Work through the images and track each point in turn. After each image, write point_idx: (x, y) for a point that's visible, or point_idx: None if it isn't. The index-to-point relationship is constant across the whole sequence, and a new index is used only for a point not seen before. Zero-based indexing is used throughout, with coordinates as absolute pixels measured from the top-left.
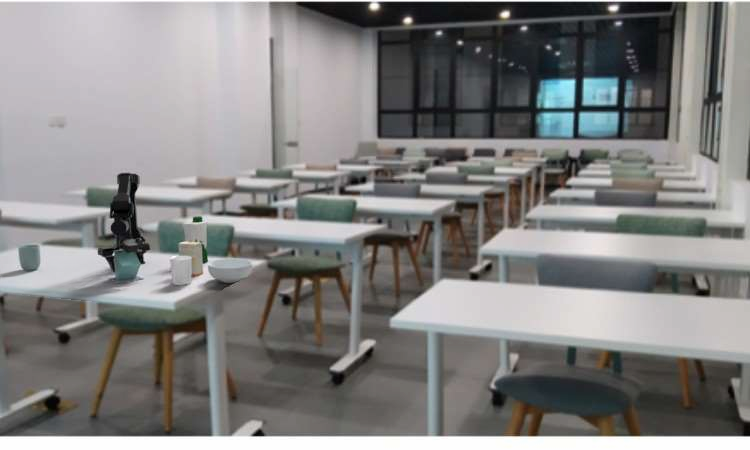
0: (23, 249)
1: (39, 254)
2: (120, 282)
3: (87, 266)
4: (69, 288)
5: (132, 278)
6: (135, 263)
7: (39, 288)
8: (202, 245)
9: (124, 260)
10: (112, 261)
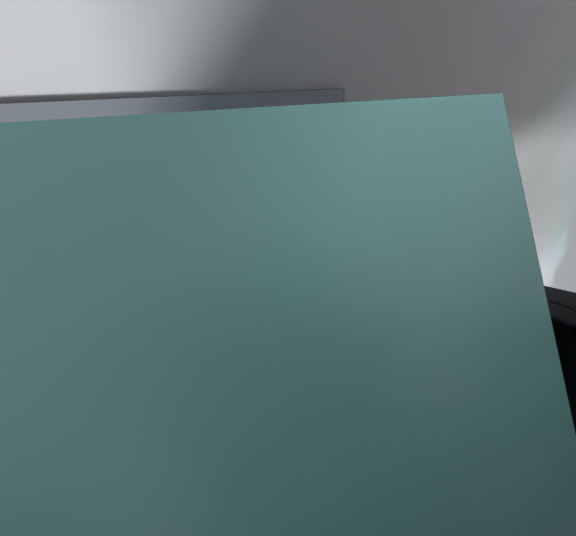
0: None
1: None
2: (322, 100)
3: None
4: (545, 179)
5: None
6: (14, 180)
7: (555, 251)
8: None
9: (424, 320)
10: (564, 307)
